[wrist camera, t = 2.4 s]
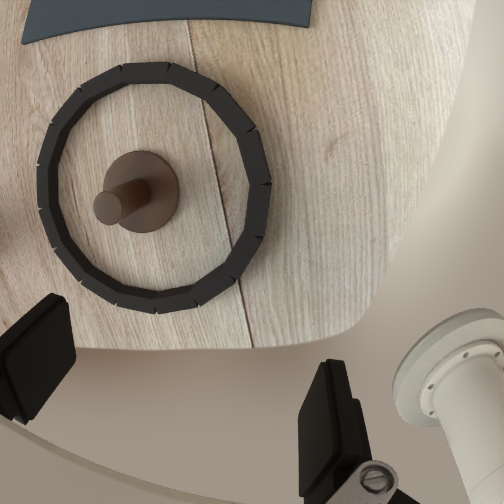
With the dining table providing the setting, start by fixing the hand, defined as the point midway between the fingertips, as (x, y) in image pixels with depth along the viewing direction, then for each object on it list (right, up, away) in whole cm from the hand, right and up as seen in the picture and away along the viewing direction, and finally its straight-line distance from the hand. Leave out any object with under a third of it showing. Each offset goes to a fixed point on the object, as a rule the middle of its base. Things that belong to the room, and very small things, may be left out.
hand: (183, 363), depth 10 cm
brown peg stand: (-7, +9, +15) cm, 19 cm away
